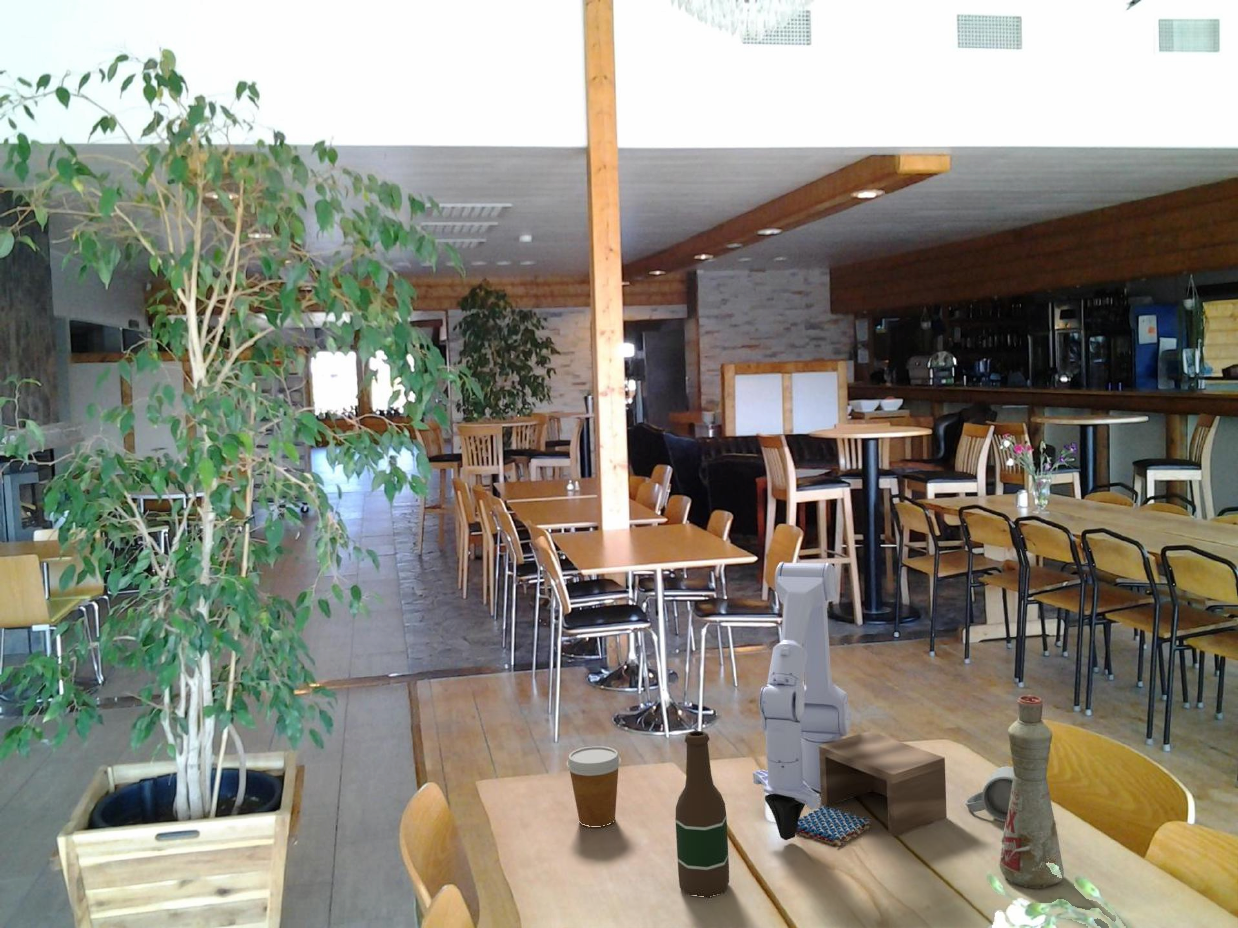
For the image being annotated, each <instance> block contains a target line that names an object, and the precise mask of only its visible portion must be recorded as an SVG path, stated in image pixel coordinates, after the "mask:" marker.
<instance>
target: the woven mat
mask: <svg viewBox="0 0 1238 928" xmlns="http://www.w3.org/2000/svg"><path fill="white" fill-rule="evenodd" d="M871 824H872V822H871V821H870V819H867V818H866V817H865V816H862V817H860V816H858V815H857V814H850V813H849V812H848V811H847V812H843V811H842V810H841V809H839V810H836V809H835V808H834V807H831V808H830V807H828V806H826V805H824V804H823V806H819V807H817V808H815V809H814V810H811V811H810V812H809V813H808V814H805V815H803V816H802V817H801V816H800V818H799V821H798V825H797V829H796V832H797V833H796V834H799V835H802V836H805V837H808V838H812V839H815V840H818V841H821V842H825V843H828V844H831V845H833V846H836V847H837V846H838V847H839V846H841V845H842V844H843V843H845V842H848V841H849V840H850V839H853V838H852V837H854V838H856V837H857V838H858V835H860V834H861V833H863V832H864V830H865V831H867V830H869V829H870V828H871Z"/></svg>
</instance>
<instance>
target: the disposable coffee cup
mask: <svg viewBox="0 0 1238 928" xmlns="http://www.w3.org/2000/svg"><path fill="white" fill-rule="evenodd" d="M621 760H622V759H621V757H620V756H619V754H618V751H617V750H616V749H614V748H612V747H608V746H602V745H601V746H600V745H599V746H598V745H597V746H595V745H594V746H587V747H586V746H585V747H580V748H578V749H575V750H573V751H572V752H570V753H569V754H568V760H567V761H566V766H567V768H568V770H569V774H570V778H571V786H572V789H573V795H574V800H575V804H576V805H575V807H576V810H577V811H576V812H577V816H578V822H579V821H580V822H581V823H582V824H585V825H589V826H603V825H607V824H609V823H612V822H613V821H614V820H615V821H616V810H617V796H618V795H617V794H618V783H619V782H618V781H619V780H618V779H619V767H620V765H621V762H622V761H621ZM615 821H614V822H615ZM580 822H579V823H580ZM614 822H613V823H614ZM613 823H612V824H613Z"/></svg>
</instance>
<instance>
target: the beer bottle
mask: <svg viewBox="0 0 1238 928" xmlns="http://www.w3.org/2000/svg"><path fill="white" fill-rule="evenodd" d="M709 741H710V737H709V734H708V732H705V731H703V730H694V731H689V732H687V733H686V735H685V737H684V742H685V743H686V766H685V767H686V772H685V773H686V777H685V785H684V788H683V790H682V791H681V793H680V795H679V797H678V799H677V803H676V806H675V835H676V836H675V837H676V854H677V870H678V871H677V872H678V873H677V874H678V883H679V884H678V885H679V888H680V889H681V891H683V890H684V891H685V892H686V893H685V892H684V891H683V892H684V893H685V894H687V895H688V894H689V895H697V896H704V897H710V896H713V895H716V896H718V895H717V894H720V895H722V894H721V893H723V894H724V893H725V892H726V890H727V888H728V885H729V883H730V861H729V859H730V858H729V843H728V842H729V841H728V839H729V838H728V837H729V836H728V823H727V822H728V820H727V809H726V803H725V800H724V798H723V796H722V795H723V794H721V792H720V791H719V789H718V788H717V787H716V785H715V784H714V781H713V775H712V771H711V769H712V768H711V760H710V751H709V743H708V742H709ZM689 895H688V896H689ZM713 897H714V896H713ZM710 898H711V897H710Z"/></svg>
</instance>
